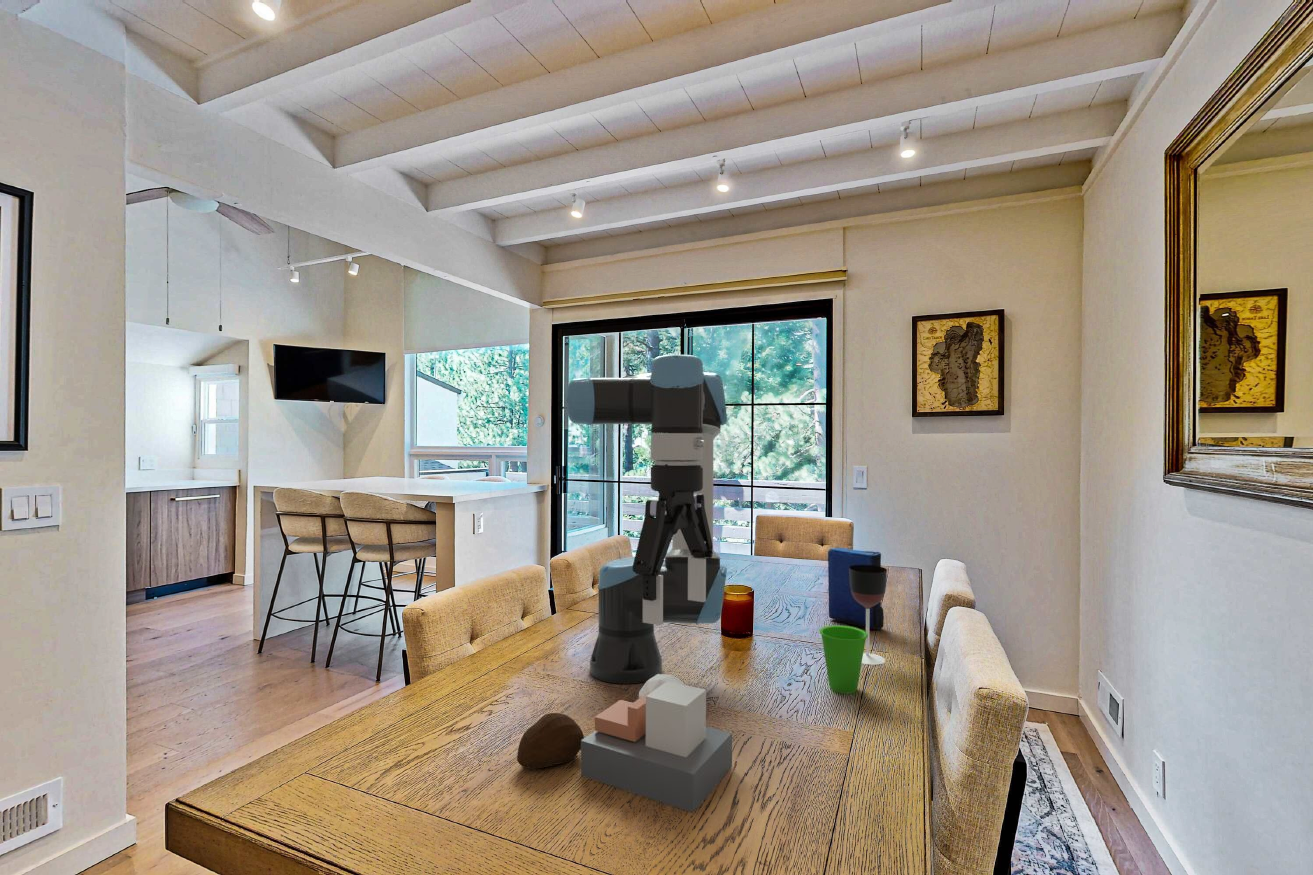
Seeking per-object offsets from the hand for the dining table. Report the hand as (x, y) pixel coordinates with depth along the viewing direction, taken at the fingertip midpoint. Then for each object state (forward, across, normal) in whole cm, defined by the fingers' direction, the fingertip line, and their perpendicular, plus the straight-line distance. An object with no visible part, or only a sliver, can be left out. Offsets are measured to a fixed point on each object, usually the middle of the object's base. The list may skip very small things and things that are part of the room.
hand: (676, 611), depth 88 cm
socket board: (+24, 0, +3) cm, 24 cm away
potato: (+24, -6, +18) cm, 31 cm away
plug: (+23, 0, 0) cm, 23 cm away
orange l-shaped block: (+18, 0, +8) cm, 20 cm away
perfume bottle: (+24, +12, +8) cm, 28 cm away
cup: (+24, +44, -14) cm, 52 cm away
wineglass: (+24, +64, -15) cm, 70 cm away
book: (+24, +89, -7) cm, 92 cm away
